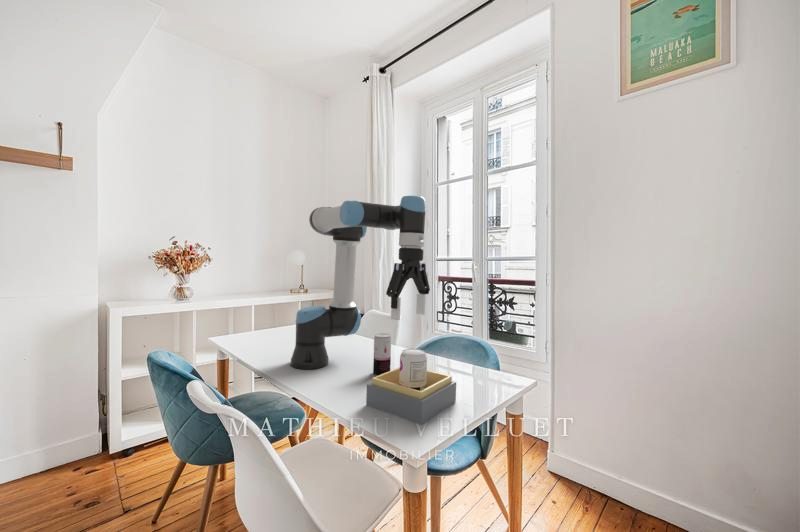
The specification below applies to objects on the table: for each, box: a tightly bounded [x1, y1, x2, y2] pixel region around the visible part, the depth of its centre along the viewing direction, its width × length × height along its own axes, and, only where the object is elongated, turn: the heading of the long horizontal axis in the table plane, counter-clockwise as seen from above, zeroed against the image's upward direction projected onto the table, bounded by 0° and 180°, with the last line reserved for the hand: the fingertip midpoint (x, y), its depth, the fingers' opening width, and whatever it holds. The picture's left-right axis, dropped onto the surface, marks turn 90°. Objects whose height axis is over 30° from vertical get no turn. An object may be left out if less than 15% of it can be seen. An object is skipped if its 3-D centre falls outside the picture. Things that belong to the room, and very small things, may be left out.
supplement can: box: [399, 348, 428, 391], centre depth 108 cm, size 8×8×15 cm
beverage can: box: [372, 332, 392, 377], centre depth 137 cm, size 6×7×15 cm
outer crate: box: [365, 380, 457, 425], centre depth 108 cm, size 20×20×7 cm
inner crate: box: [371, 366, 453, 400], centre depth 108 cm, size 17×17×8 cm
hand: (408, 316), depth 109 cm, fingers open, 13 cm apart
